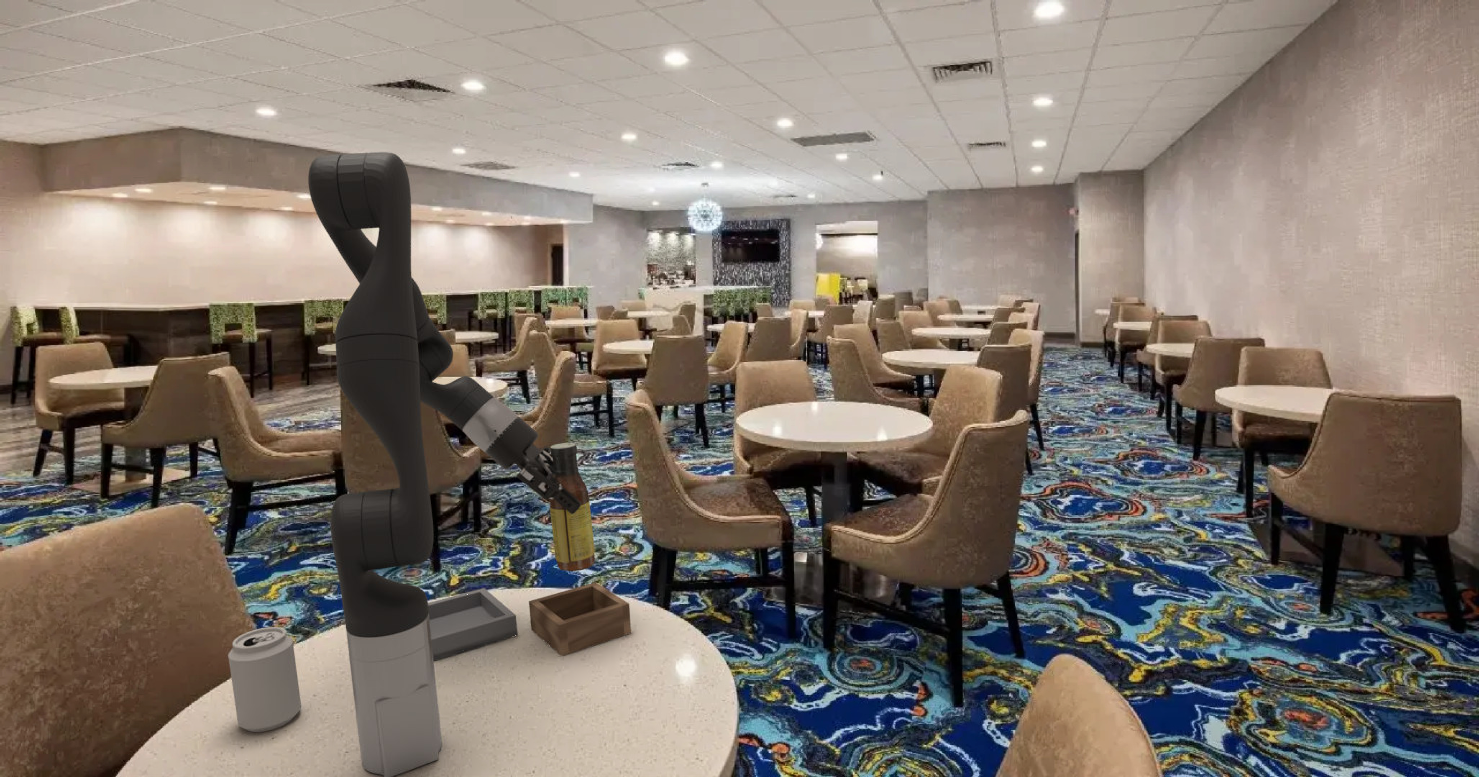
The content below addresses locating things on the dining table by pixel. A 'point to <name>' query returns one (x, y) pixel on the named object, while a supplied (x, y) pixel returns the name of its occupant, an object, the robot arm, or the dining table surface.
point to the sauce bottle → (570, 528)
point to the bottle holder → (579, 618)
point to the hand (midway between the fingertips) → (581, 503)
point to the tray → (468, 623)
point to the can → (264, 679)
